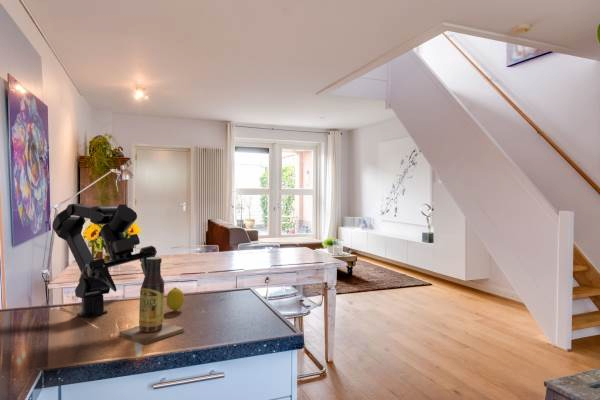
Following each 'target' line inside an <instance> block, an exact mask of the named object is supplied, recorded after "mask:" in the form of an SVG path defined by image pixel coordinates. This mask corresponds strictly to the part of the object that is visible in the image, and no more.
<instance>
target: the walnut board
mask: <svg viewBox="0 0 600 400" xmlns="http://www.w3.org/2000/svg"><path fill="white" fill-rule="evenodd" d="M184 332H185V327H181V326H178V325H174V324H171V323H168V322H164V321H163V324H162V328H161V329H160V330H158V331H155V332H142V331H140V329H139V325H138V326H134V327H131V328H128V329H123V330H121V331H119V332H118V333H119V336H120V337H123V338H125V339H128V340H131V341H134V342H136V343H139V344H142V345H145V346H146V345H149V344H152V343H154V342H158V341H160V340H163V339H167V338H169V337H173V336H174V335H175V336H177V335H178V334H180V333H181V334H182V333H184Z"/></svg>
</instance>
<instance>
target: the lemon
mask: <svg viewBox="0 0 600 400" xmlns="http://www.w3.org/2000/svg"><path fill="white" fill-rule="evenodd" d="M184 301H185V296H184V293H183V291H182V290H181V289H180V288H177V287H173V288H172V289H170V290H169V291H168V293H167V295H166V305H167V307H168V308H169V309H170V310H172V311H174V312H177V311H178V310H179V309H181V308H182V307H183V305H184Z"/></svg>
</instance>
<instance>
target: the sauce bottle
mask: <svg viewBox="0 0 600 400" xmlns="http://www.w3.org/2000/svg"><path fill="white" fill-rule="evenodd" d="M161 265H162V257H158V256H155V257H149V258H146V275H145V276H144V277H143V281H142V284H141V287H140V290H139V291H140V292H139V294H140V295H139V313H138V326H139V329H140V331H142V332H155V331H158V330H160V329H161V328H162V324H163V322H164V311H165V310H164V309H165V308H164V306H165V281H164V278H163V277H162V275H161V272H162V271H161V267H162V266H161Z"/></svg>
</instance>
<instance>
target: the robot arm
mask: <svg viewBox="0 0 600 400" xmlns="http://www.w3.org/2000/svg"><path fill="white" fill-rule="evenodd" d="M137 214H138V213H137V212H136V211H135V210H133V208H131V207H128V206H127V204H123V203H121V204H120V203H119V205H118V206H117V205H114V206H113V205H110V206H109V205H107V206H106V205H101V206H99V205H96V206H93V205H87V204H84V203H70V204H68V205H67V206H66V208H65V209H64V210H62V211H60V212H59V213H58V214H56V215H55V218H54V220H53V222H52V229H53V231H54V232H55V234H56V235H57V237H58V238H60V239H62V240H64V241H65V242H66V243H67V245H68V247H69V250H70V251H71V254H72V256H73V258H74V260H75V263H76V265H77V266H78V268H79V271H80V276H79V278H78V282H79V283H77V286H76V287H75V289H74V294H75V297H76V298H80V299H81V312H78V313H77V314H76V315H77V316H79V317H85V318H93V317H96V316H99V315H104V314H107V313H108V312H109V311H108V310H105V306H104V305H105V300H104V295H108V294H110V290H113V292H117V287H116V284H115V281H114V280H113V278H112V275H111V274H110V271H109V268H113V267H117V266H121V265H122V264H126V263H130V262H134V261H138V260H139V262H140V267H141V269H142V270H141V271H142V272H143V273H142V274H143V276H144V277H145V275H146V258H149V257H156V256H157V252H158V251H157V249H156V247H155V246H153V245H148V246H144V247H141V248H140V250H139V252H137V253H133V252H134V249H135V248H136V247H135V246H137V245H140V243H141V241H140V238H139V235H138V234H137V233H134V234H130V235H129V237H126V236H125V233H126V232H127V231H128V230H129V229H130V228H131V227H132V225H133V224H134V223H135V222H136V221H137V219H138V215H137ZM86 219H89V222H91V223H92V224H94V225H96V226H97V225H99V226H100V225H103V226H102V227H101V228H100V230H99V232H98V237H99V238H101V237H102V238H103V240H104V243H105V247H106V252H107V254H108V256H109V257H110V260H105V259H104V258H103V257H101V258H97V259H94V256H93V254H92V252H91V250H90V249H89V247H88V245H87V242H86V240H85V238H84V236H83V235H82V232H83V229H84V225H85V224H86Z"/></svg>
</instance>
